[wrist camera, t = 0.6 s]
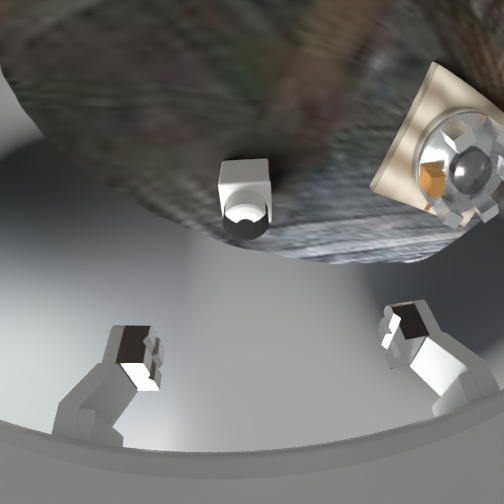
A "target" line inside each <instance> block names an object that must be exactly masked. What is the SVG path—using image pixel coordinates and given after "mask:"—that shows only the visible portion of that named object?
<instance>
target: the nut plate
mask: <svg viewBox="0 0 504 504" xmlns="http://www.w3.org/2000/svg"><path fill="white" fill-rule="evenodd" d="M456 107H471V108H475V109H477V110H480V111H481V112H483V113H484V114H486V115H487V116H489V117H490V118H492V119H493V120H495V121H496V122H497V123H499V124H500V125H501V126H503V127H504V113H503V112H502V111H501V110H500V109H499V108H498V107H496V106H495V105H494V104H493V103H491V102H490V101H489V100H488V99H487V98H485V97H484V96H483V95H481V94H480V93H479V92H478V91H476V90H475V89H474V88H472V87H471V86H470V85H468V84H467V83H465V82H464V81H463V80H461V79H460V78H458V77H457V76H456V75H454V74H453V73H451V72H450V71H448V70H447V69H445V68H444V67H442V66H441V65H439V64H437V63H435V62H433V61H432V64H431V66H430V68H429V70H428V72H427V74H426V77H425V79H424V81H423V83H422V85H421V87H420V89H419V91H418V94H417V96H416V98H415V100H414V102H413V104H412V106H411V108H410V110H409V112H408V114H407V116H406V118H405V120H404V122H403V124H402V126H401V128H400V130H399V132H398V134H397V136H396V138H395V139H394V141H393V143H392V145H391V147H390V149H389V151H388V153H387V155H386V157H385V158H384V160H383V162H382V164H381V166H380V168H379V170H378V171H377V173H376V175H375V177H374V179H373V180H372V182H371V184H370V187H371V189H372V191H373V192H375V193H378V194H381V195H384V196H386V197H389V198H392V199H395V200H398V201H401V202H403V203H406V204H409V205H411V206H414V207H417V208H419V209H422V210H425V211H427V212H430V213H432V214H435V215H437V214H436V213H435V211H434V210H433V207H432V206H431V205H430V204H429V203H428V202H427V201H426V199H425V198H424V196H423V195H422V193H421V192H420V190H419V189H418V187H417V185H416V183H415V181H414V178H413V172H412V160H413V154H414V150H415V147H416V144H417V142H418V139H419V137H420V136H421V134H422V132H423V131H424V129H425V128H426V127H427V125H428V124H429V123H430V122H431V121H432V120H433V119H434V118H436V117H437V116H438V115H440V114H441V113H443V112H445V111H447V110H449V109H452V108H456ZM474 213H475V210H474V208H473V209H471V210H469V211H466V212H462V213H461V214H462V215H463V217H464V219H463V220H462V221H461V223H460V225H462V226H464V227H465V225H466V224H467V223H468V221H469V220H470V218H471V217H472V216H473V214H474Z"/></svg>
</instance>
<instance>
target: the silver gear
mask: <svg viewBox="0 0 504 504" xmlns="http://www.w3.org/2000/svg"><path fill="white" fill-rule="evenodd" d="M412 172H413V178H414V181H415V183H416V185H417V187H418V189H419V190H420V192H421V193H422V195H423V196H424V198H425V199H426V201H427V202H428V203H429V204H430V205H431V206H432V207H433V210H434V211H435V213H436V214H437V216H438V217H439V219H440V220H441V222H442V224H445V225H447V226H450V227H453V228H455V229H456V228H457V227H458V226H459V224H460V223H461V221H462V220H463V219H464V217H463V215H462V214H461V213H462V212H466V211H469V210H471V209H473V208H474V210H475V211H476V212H477V214H478V215H479V216H480V218H481V219H482V221H483V222H484V223H485V222H486V221H488V220H489V219H491V218H492V217H494V216H495V215H497V214H498V213H499V210H498V206H497V203H496V202H495V201H494V200H493V198H492V197H491V195H492V194H493V192H494V191H495V190H496V188H497V187H498V186H499V184H500V182H501V180H503V181H504V127H503V126H501V125H500V124H499V123H497V122H496V121H495V120H493V119H492V118H490V117H489V116H487V115H486V114H484V113H483V112H481V111H480V110H477V109H475V108H471V107H456V108H452V109H449V110H447V111H445V112H443V113H441V114H440V115H438V116H437V117H436V118H434V119H433V120H432V121H431V122H430V123H429V124H428V125H427V127H426V128H425V129H424V131H423V132H422V134H421V136H420V137H419V139H418V142H417V144H416V147H415V150H414V154H413V160H412Z"/></svg>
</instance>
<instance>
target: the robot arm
mask: <svg viewBox="0 0 504 504" xmlns="http://www.w3.org/2000/svg"><path fill="white" fill-rule="evenodd" d="M384 314H385V317H384V318H383V319H382V320H381V321H380V324H379V338H380V341H381V344H382V345H383V346H384V347H385V348H387V351H386V354H385V355H386V358H387V361H388V364H389V367H390V369H393V368H398V367H403V366H408V365H410V367H411V368H412V369H413V370H414V371H415V372H416V373H417V374H418V375H419V376H420V377H421V378H422V379H424V380H425V381H426V382H427V383H428V384H429V385H430V386H431V387H432V388H433V389H434V390H435V391H436V392H437V393H438V394H439V395H440V396H441V397H440V398H439V399H438V400H437V401H436V402H435V403H434V405H433V406H432V410H433V413H434V417H431V418H428V419H425V420H422V421H419V422H416V423H412V424H408V425H405V426H401V427H398V428H394V429H390V430H386V431H382V432H378V433H374V434H369V435H365V436H360V437H355V438H350V439H345V440H340V441H334V442H328V443H322V444H315V445H309V446H301V447H293V448H283V449H272V450H260V451H242V452H175V451H158V450H146V449H135V448H126V447H122V446H123V436H122V435H121V434H120V433H119V432H118V431H116V430H115V429H114V428H113V427H112V426H113V425H114V424H115V422H116V421H117V419H118V418H119V417H120V415H121V414H122V413H123V411H124V410H125V408H126V407H127V406H128V404H129V403H130V402H131V400H132V399H133V397H134V396H135V395H136V393H137V392H138V390H160V382H161V373H160V371H159V367H161V365H162V364H163V358H164V354H163V346H162V342H161V340H160V339H159V338H157V337H156V333H157V331H156V329H155V327H154V326H120V325H114V326H113V327H112V329H111V331H110V334H109V338H108V341H107V345H106V348H105V353H104V356H103V360H102V363H98V364H97V365H96V366H95V367H94V368H93V369H92V370H91V371H90V372H89V373H88V374H87V375H86V376H85V377H84V378H83V379H82V380H81V381H80V382H79V383H78V384H77V385H76V386H75V387H74V388H73V389H72V390H71V391H70V392H69V393H68V395H67V396H66V397H65V398H64V399H63V400H62V401H61V402H60V403H59V405H58V409H57V413H56V417H55V421H54V426H53V430H52V434H47V433H44V432H40V431H36V430H32V429H28V428H25V427H21V426H18V425H15V424H11V423H8V422H5V421H2V420H0V504H504V389H503V390H501V391H500V389H499V387H498V384H497V382H496V380H495V378H494V376H493V373H492V371H491V369H490V367H489V365H488V363H487V362H485V361H484V360H483V359H481V358H480V357H478V356H477V355H476V354H474V353H473V352H471V351H470V350H469V349H468V348H466V347H465V346H463V345H462V344H461V343H459V342H458V341H457V340H455V339H454V338H452V337H451V336H450V335H448V334H447V333H445V332H444V333H442V332H441V330H440V328H439V326H438V324H437V322H436V320H435V318H434V316H433V315H432V313H431V311H430V309H429V307H428V305H427V303H426V302H425V301H424V300H419V301H413V302H405V303H399V304H393V305H387V306H386V307H385V310H384Z"/></svg>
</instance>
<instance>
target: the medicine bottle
mask: <svg viewBox="0 0 504 504" xmlns="http://www.w3.org/2000/svg"><path fill="white" fill-rule="evenodd" d="M218 187H219V194H220V201H221V208H222V215H223V227H224V229H225V231H226V232H227V233H228V234H229V235H231V236H232V237H234V238H236V239H239V240H252V239H255V238H258V237H260V236H261V235H263V234H264V233H265V231H266V230H267V228H268V225H269V222H271V221H272V207H271V179H270V169H269V160H268V159H246V160H230V161H223V162H222V165H221V171H220V178H219V184H218Z"/></svg>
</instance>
